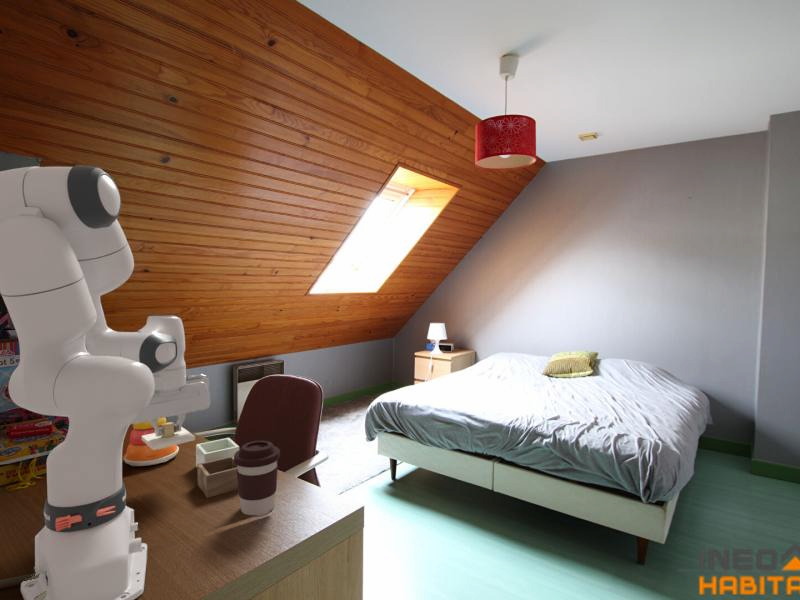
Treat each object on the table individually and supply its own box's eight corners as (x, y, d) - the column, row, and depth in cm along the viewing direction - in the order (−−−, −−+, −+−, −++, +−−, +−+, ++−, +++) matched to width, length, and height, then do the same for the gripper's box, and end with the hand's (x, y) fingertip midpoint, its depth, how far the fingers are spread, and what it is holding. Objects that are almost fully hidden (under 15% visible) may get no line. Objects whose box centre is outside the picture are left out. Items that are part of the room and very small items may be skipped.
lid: (195, 442, 113) (194, 424, 113) (153, 452, 106) (152, 433, 106) (182, 432, 120) (181, 415, 120) (141, 442, 113) (141, 424, 113)
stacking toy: (181, 447, 141) (180, 386, 140) (176, 465, 128) (174, 397, 127) (129, 454, 136) (127, 390, 135) (118, 472, 123) (116, 402, 122)
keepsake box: (245, 490, 112) (244, 466, 112) (207, 501, 107) (207, 476, 107) (233, 477, 120) (233, 455, 119) (197, 487, 114) (197, 464, 114)
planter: (239, 471, 123) (239, 446, 123) (205, 480, 118) (204, 454, 118) (229, 461, 131) (229, 437, 130) (196, 469, 125) (195, 444, 125)
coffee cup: (240, 526, 96) (239, 457, 95) (230, 506, 104) (229, 442, 104) (286, 513, 101) (285, 447, 101) (273, 495, 110) (272, 435, 109)
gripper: (204, 370, 122) (205, 421, 122) (116, 383, 107) (119, 440, 108) (213, 374, 117) (214, 426, 118) (123, 388, 103) (125, 447, 104)
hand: (168, 433), depth 113 cm, fingers closed on lid, 3 cm apart
